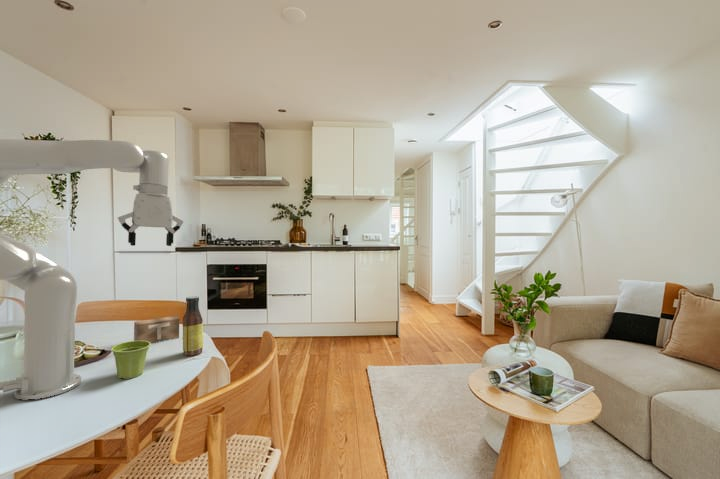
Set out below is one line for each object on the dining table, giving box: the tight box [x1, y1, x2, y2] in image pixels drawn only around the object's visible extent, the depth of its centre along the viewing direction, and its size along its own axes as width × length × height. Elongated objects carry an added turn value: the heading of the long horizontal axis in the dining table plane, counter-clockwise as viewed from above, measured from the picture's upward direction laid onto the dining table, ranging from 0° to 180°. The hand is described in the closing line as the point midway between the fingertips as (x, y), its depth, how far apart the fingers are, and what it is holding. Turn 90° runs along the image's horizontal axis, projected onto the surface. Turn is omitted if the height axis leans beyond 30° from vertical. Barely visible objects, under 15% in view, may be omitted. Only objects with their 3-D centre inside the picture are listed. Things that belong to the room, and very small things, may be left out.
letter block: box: [133, 315, 180, 344], centre depth 121 cm, size 14×5×8 cm, turn 135°
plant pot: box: [110, 340, 152, 380], centre depth 92 cm, size 9×9×9 cm
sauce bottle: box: [182, 295, 204, 357], centre depth 110 cm, size 7×6×20 cm
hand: (151, 245), depth 98 cm, fingers open, 9 cm apart
